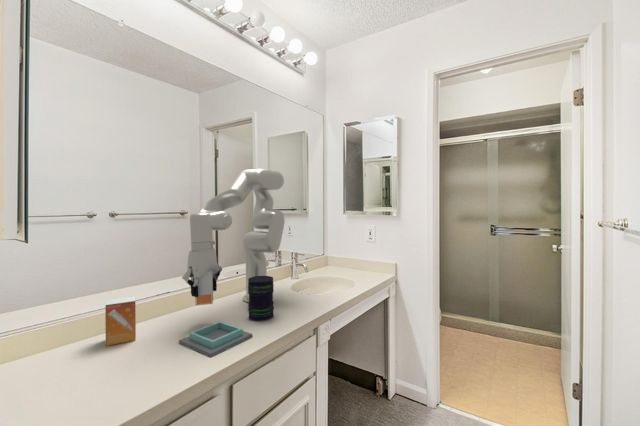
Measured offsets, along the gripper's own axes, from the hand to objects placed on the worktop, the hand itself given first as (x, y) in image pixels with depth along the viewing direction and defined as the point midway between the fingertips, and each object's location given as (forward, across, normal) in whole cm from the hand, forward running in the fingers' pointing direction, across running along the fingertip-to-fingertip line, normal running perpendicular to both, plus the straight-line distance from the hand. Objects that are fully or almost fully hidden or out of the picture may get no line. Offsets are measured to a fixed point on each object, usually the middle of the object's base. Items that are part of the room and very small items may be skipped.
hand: (204, 293), depth 111 cm
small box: (+10, +24, -10) cm, 28 cm away
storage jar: (+12, -16, +13) cm, 24 cm away
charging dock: (+11, +7, +16) cm, 21 cm away
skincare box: (+4, 0, 0) cm, 4 cm away
